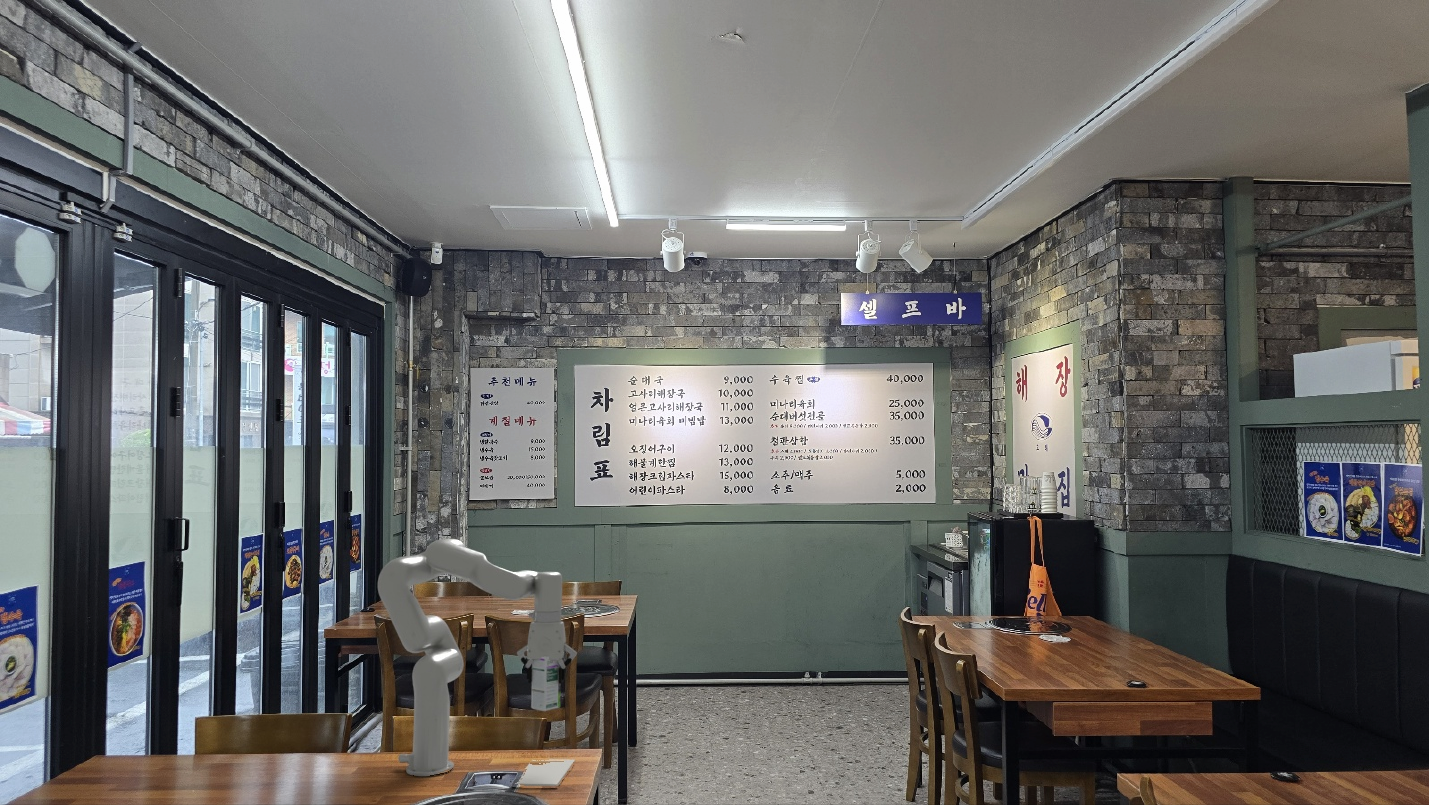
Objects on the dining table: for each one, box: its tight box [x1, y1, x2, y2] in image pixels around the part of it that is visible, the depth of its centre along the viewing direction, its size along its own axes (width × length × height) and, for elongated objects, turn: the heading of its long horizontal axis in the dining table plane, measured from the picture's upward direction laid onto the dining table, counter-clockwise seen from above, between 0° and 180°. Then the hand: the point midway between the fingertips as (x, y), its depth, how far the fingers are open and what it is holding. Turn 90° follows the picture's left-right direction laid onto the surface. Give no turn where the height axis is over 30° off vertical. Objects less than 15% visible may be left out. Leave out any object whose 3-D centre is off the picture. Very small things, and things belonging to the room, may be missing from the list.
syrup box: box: [530, 656, 561, 712], centre depth 243 cm, size 6×6×14 cm
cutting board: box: [515, 758, 576, 786], centre depth 241 cm, size 12×22×1 cm, turn 177°
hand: (546, 682), depth 243 cm, fingers closed on syrup box, 7 cm apart
